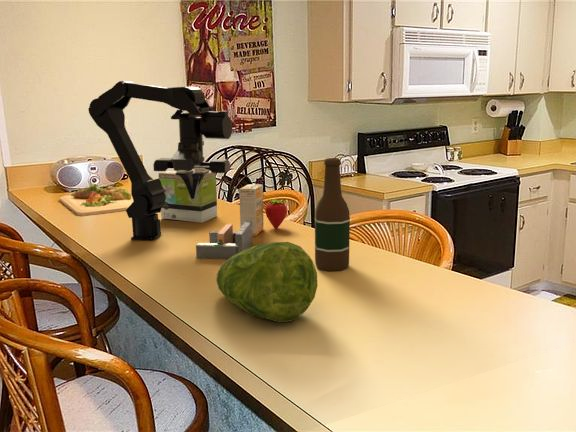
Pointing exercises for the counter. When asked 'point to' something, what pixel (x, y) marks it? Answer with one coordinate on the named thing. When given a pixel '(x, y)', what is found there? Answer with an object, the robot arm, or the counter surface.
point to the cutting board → (97, 200)
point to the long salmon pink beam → (226, 234)
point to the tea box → (188, 198)
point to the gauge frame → (224, 250)
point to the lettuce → (270, 281)
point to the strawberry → (276, 212)
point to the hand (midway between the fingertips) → (193, 198)
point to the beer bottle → (332, 222)
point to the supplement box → (252, 206)
